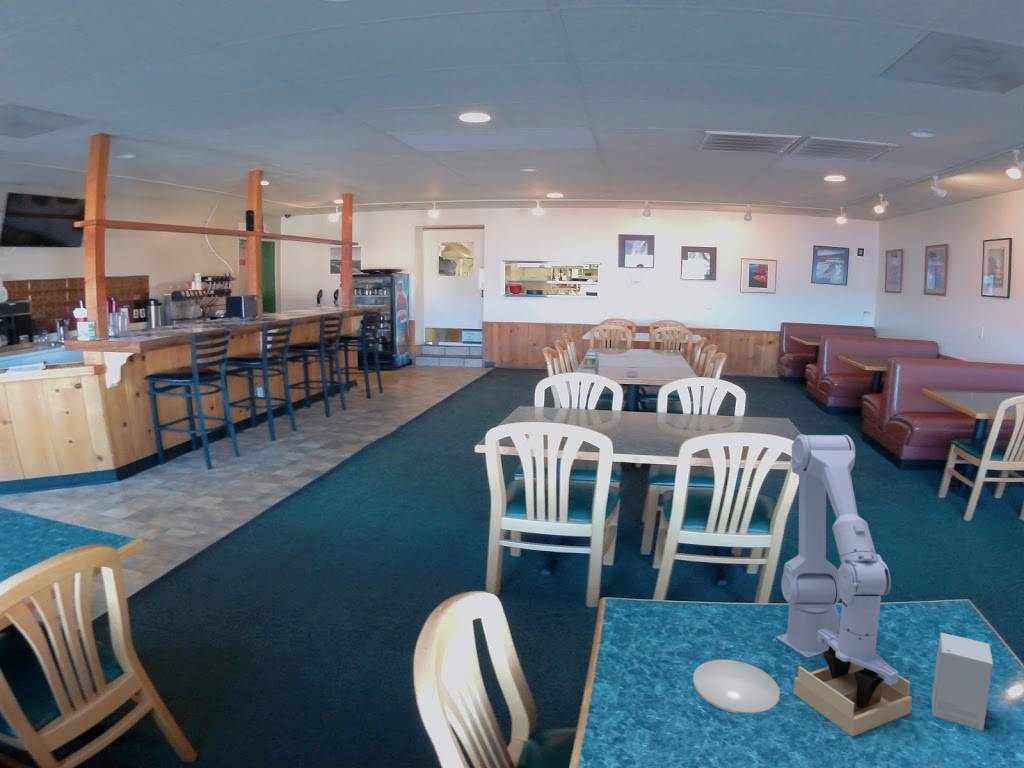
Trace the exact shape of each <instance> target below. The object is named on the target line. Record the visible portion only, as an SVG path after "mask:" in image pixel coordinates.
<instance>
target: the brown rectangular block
mask: <svg viewBox="0 0 1024 768" xmlns="http://www.w3.org/2000/svg"><path fill="white" fill-rule="evenodd" d="M861 670H863V669H861ZM858 671H859V670H858ZM855 672H857V671H855ZM824 683H825V684H827V685H828V686H830V687H831V688H833V689H834V690H836V691H837V692H839V693H840V694H842V695H843V696H844V697H846V698H847V699H849V700H850V701H852V702H853V703H854V712H856V711H858V710H861V709H863V708H861V709H860V708H859V707H857V703H856V699H857V683H856V678H855V675H854V672H852V673H849V674H846V675H844V676H841V677H838V678H835V679H832V680H829V681H826V682H824ZM882 683H883V681H882V682H881V683H880V685H879V686H878V687H877V689H876V690H875V692H874V693H873V695H872V697H871V700H870V702H869V705H868V706H866V707H869V706H871V705H874V704H876V703H879V702H880V700H881V692H882ZM866 707H864V708H866Z"/></svg>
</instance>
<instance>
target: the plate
mask: <svg viewBox="0 0 1024 768" xmlns="http://www.w3.org/2000/svg"><path fill="white" fill-rule="evenodd" d="M692 676H693V678H692V682H693V683H692V684H693V687H694V689H695V691H696V692H697V694H698V696H700V697H701V698H702V699H703V700H704V701H705V702H707V703H708V704H709V705H711V706H713V707H715V708H717V709H720V710H722V711H725V712H728V713H731V714H735V715H740V713H745V714H747V713H748V714H752V713H762V712H766V711H768V710H771V709H772V708H774V707H775V706H776V705H777V704H778V703H779V700H780V698H781V695H780V694H781V692H780V688H779V686H778V684H777V682H776V681H775V680H774V679H773V678H772V676H770V675H769V674H768V673H766V672H765V671H763V670H762V669H761V668H759V667H756V666H754V665H751V664H748V663H745V662H742V661H738V660H731V659H714V660H709V661H706V662H703V663H702V664H700V665H698V666H697V668H696V669H695V670H694V672H693V675H692Z"/></svg>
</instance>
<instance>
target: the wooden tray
mask: <svg viewBox="0 0 1024 768" xmlns="http://www.w3.org/2000/svg"><path fill="white" fill-rule="evenodd" d="M861 669H863V670H864V667H862V666H859V665H857V664H854V663H852V662H851V664H850V668H849V672H848V674H849V673H852V672H855V671H858V670H861ZM829 680H832V676H831V672H830V669H829V667H828V666H825V667H823V668H820V669H816V670H814V671H810V672H809V671H808V670H806V669H805V668H804V667H803V666H798V669H797V676H796V677H794V680H793V681H794V682H793V691H792V693H793V694H794V695H795V696H796V697H798V698H799V699H800V700H802V701H803V702H805V704H807V705H808V706H810V707H811V708H812V709H814V710H815V711H817V712H818V713H819V714H821V715H822V716H823V717H824V718H826V719H827V720H829V721H830V722H831V723H833V724H834V725H836V726H837V727H838V728H840V730H842V731H844V732H845V733H847V734H848V735H849V736H850V737H855V736H857V735H859V734H863V733H865V732H868V731H871V730H872V729H875V728H877V727H879V726H882V725H884V724H887V723H890V722H893V721H894V720H897V719H900V718H903V717H904V716H908V715H909V714H911V713H912V712H911V711H912V710H911V709H912V703H913V697H912V696H911V695H910V688H911V687H910V686H911V682H910V681H909V680H907V679H906V678H904V677H902V676H901V675H899V674H898V682H897V683H895V684H893V685H888V684H886V683H885V682H884V680H883V683H882V692H881V700H880V702H879V703H876V704H874V705H871V706H869V707H866V708H863V709H861V710H858V711H856V712H854V703H853V702H852V701H850V700H849V699H847V698H846V697H844V696H843V695H842V694H840V693H839V692H837V691H836V690H834V689H833V688H831V687H830V686H828V685H827V684H825V683H824V682H826V681H829Z"/></svg>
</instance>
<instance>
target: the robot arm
mask: <svg viewBox="0 0 1024 768" xmlns="http://www.w3.org/2000/svg"><path fill="white" fill-rule="evenodd" d="M855 461H856V445H855V443H854V441H853V439H852V438H851V437H850V436H849V435H847V434H841V435H836V434H835V435H833V434H832V435H830V434H827V435H820V434H817V435H816V434H813V435H812V434H801V433H800V434H798V435H797V436H796V438H795V439H794V441H793V442H792V444H791V471H792V473H793V474H795V475H797V476H798V555H796V556H795V557H793V558H792V559H789V560H788V561H786V562H785V563H784V566H783V572H782V573H783V574H782V576H781V584H780V585H781V592H782V596H783V598H784V600H785V601H786V602H787V603H788V604H789V606H788V617H787V618H788V619H787V628H786V633H783V634H781V635H777V636H776V639H777V640H778V641H781V642H782V643H783V644H785V645H786V646H788V647H789V648H792V649H793V650H794V651H796V652H797V653H799V654H800V655H802V656H804V657H806V658H811V657H814V656H817V655H821V654H823V656H822V657H823V658H824V660H825V662H826V664H827V667H829V669H830V672H831V676H832V679H835V678H838V677H841V676H844V675H846V674H848V672H849V668H850V664H851V662H852V663H854V664H857V665H859V666H862V667H864V670H859V671H857V672H854V675H855V678H856V683H857V699H856V703H857V707H859V708H860V709H861V708H864V707H866V706H868V705H869V702H870V700H871V697H872V695H873V693H874V692H875V690H876V689H877V687H878V686H879V685H880V683H881V682H882V681H883V680H884V682H885V683H886V684H888V685H893V684H895V683H897V682H898V675H899V673H900V672H899V671H897V670H896V669H894V668H893V667H892V666H891V665H890V664H889V663H887V662H886V661H885V660H884V659H883V658H882V657H881V656H880V655H879V654H878V653H877V652H876V646H877V638H878V629H879V620H880V619H879V618H880V611H881V610H880V609H881V602H882V596H886V595H888V594H889V592H890V590H891V585H892V581H891V574H890V570H889V567H888V565H887V564H886V562H885V561H883V559H882V556H881V555H880V554H878V553H876V550H875V546H874V541H873V539H872V535H871V531H870V528H869V523H868V522H867V520H864V518H862V517H860V516H859V514H858V507H857V503H856V496H855V492H854V487H853V481H852V480H853V479H852V475H851V472H852V469H853V468H854V466H855ZM827 496H828V499H829V501H830V505H831V507H832V511H833V513H834V515H835V518H836V520H835V522H834V523H833V525H832V527H831V529H832V532H833V536H834V540H835V544H836V548H837V553H838V555H839V560H840V565H839V568H837V567H836V566H835V565H834V564H833V563H831V562H830V561H829V560H827V556H826V555H827V554H826V553H827V549H826V548H827V546H826V545H827ZM840 600H842V601H841V610H840V614H839V611H838V608H837V606H836V605H837V604H838V603H839V602H840Z"/></svg>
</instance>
